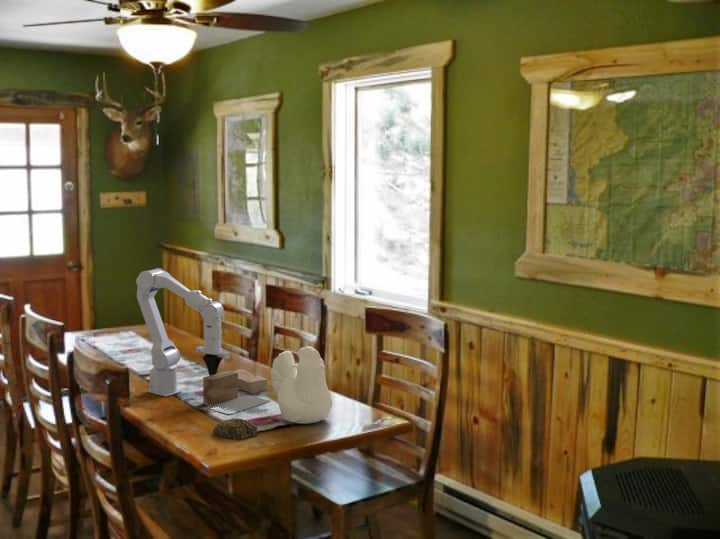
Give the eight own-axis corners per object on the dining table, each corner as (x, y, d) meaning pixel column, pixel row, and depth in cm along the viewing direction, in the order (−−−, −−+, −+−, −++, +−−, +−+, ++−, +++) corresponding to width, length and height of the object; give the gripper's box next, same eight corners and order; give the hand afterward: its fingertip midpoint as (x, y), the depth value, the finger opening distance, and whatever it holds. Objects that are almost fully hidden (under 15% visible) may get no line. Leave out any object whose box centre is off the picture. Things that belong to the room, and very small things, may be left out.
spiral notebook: (205, 408, 260) (205, 408, 260) (247, 395, 277) (247, 394, 277) (229, 415, 254) (229, 414, 254) (270, 401, 270) (270, 400, 270)
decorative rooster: (340, 424, 248) (342, 348, 244) (296, 432, 239) (298, 353, 236) (302, 403, 268) (304, 332, 265) (261, 410, 260) (261, 337, 257)
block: (203, 403, 267) (203, 377, 266) (228, 395, 276) (228, 370, 275) (212, 405, 264) (212, 379, 263) (237, 397, 274) (237, 372, 273)
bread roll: (207, 435, 236) (207, 419, 235) (235, 424, 246) (235, 409, 246) (238, 444, 229) (238, 427, 228) (266, 433, 239) (266, 417, 238)
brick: (269, 390, 285) (269, 377, 285) (250, 394, 279) (250, 381, 279) (241, 380, 297) (241, 368, 296) (223, 384, 291) (223, 372, 290)
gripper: (236, 338, 269) (236, 377, 271) (206, 332, 277) (206, 370, 279) (221, 341, 263) (221, 381, 265) (191, 335, 271) (191, 373, 273)
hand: (212, 375), depth 272 cm, fingers closed
